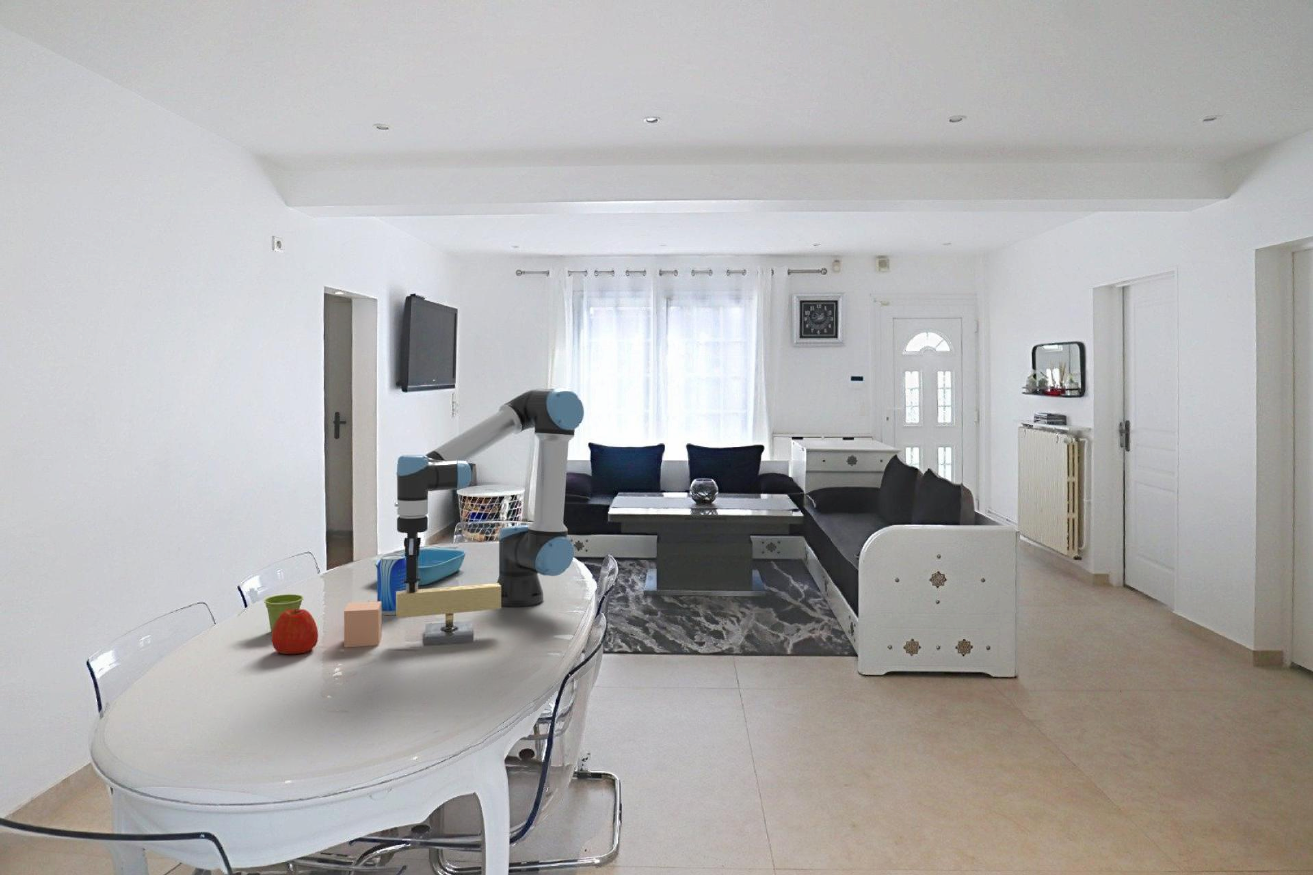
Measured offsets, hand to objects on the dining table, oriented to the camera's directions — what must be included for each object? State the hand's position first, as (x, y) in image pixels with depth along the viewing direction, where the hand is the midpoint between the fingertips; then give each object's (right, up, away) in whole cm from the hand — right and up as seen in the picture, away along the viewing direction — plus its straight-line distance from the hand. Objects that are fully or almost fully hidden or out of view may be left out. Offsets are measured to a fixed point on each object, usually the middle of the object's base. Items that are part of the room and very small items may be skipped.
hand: (412, 607), depth 203 cm
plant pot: (-35, -8, +5) cm, 36 cm away
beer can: (-13, -7, +24) cm, 29 cm away
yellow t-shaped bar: (+9, -5, +2) cm, 11 cm away
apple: (-25, -9, -11) cm, 29 cm away
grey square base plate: (+9, -8, +2) cm, 12 cm away
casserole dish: (-18, -5, +70) cm, 72 cm away
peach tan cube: (-11, -8, -3) cm, 14 cm away
